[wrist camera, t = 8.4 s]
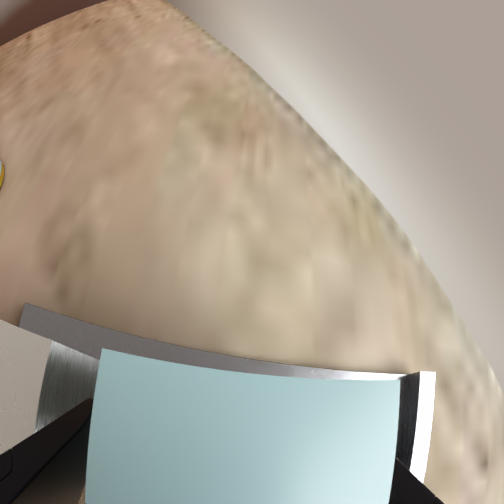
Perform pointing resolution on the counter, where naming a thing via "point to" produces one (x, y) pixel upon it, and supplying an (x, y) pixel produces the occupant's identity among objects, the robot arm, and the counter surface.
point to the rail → (96, 337)
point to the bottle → (1, 173)
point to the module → (237, 436)
